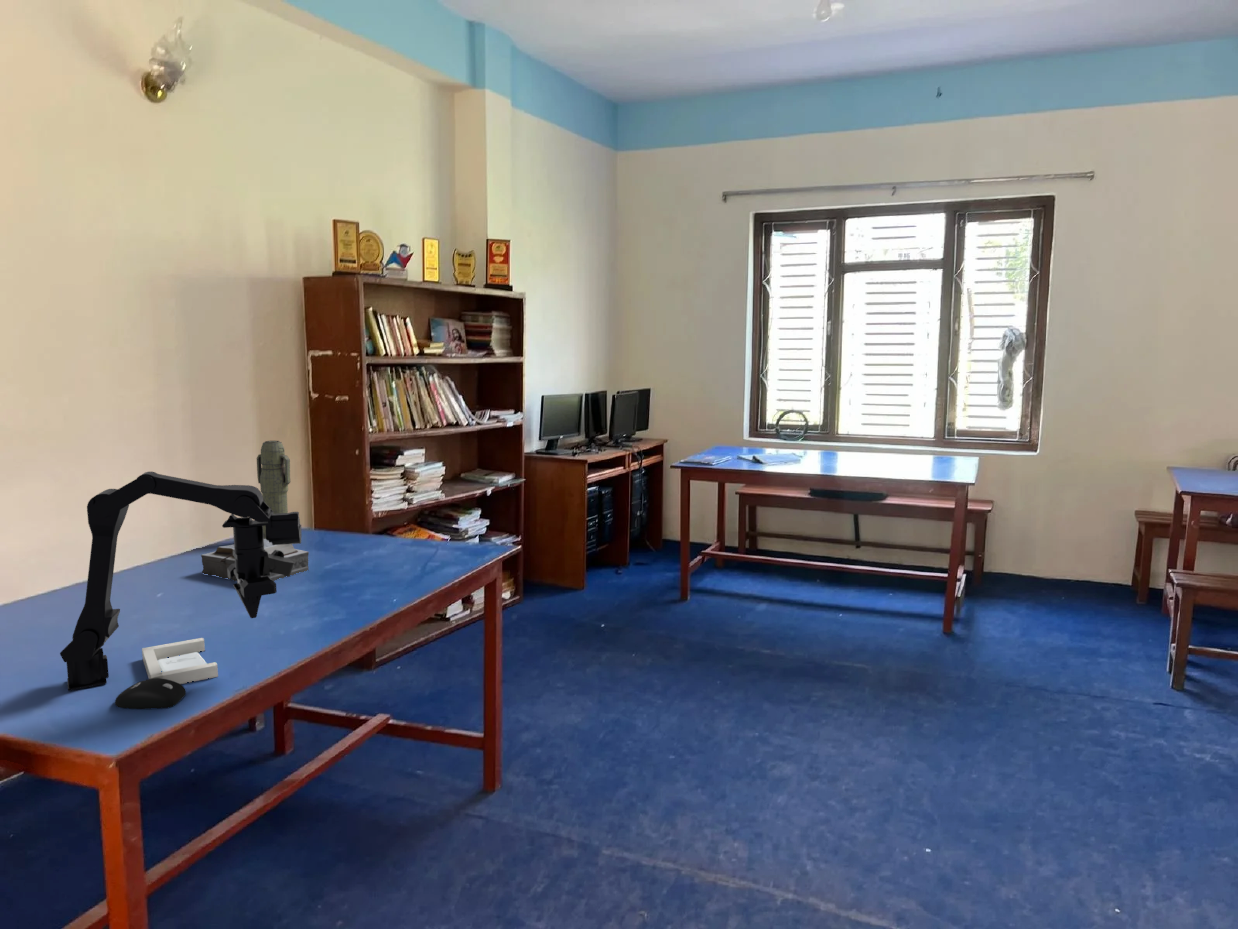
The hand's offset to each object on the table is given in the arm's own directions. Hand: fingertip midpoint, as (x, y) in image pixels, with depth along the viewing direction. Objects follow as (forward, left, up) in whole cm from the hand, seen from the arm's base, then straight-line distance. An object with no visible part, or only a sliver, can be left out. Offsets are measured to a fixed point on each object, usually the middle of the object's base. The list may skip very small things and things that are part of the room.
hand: (253, 617), depth 172 cm
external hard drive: (-13, +7, -12) cm, 19 cm away
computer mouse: (-21, -7, -12) cm, 24 cm away
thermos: (+30, +116, -11) cm, 120 cm away
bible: (+15, +77, -12) cm, 79 cm away
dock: (-14, +8, -11) cm, 19 cm away
